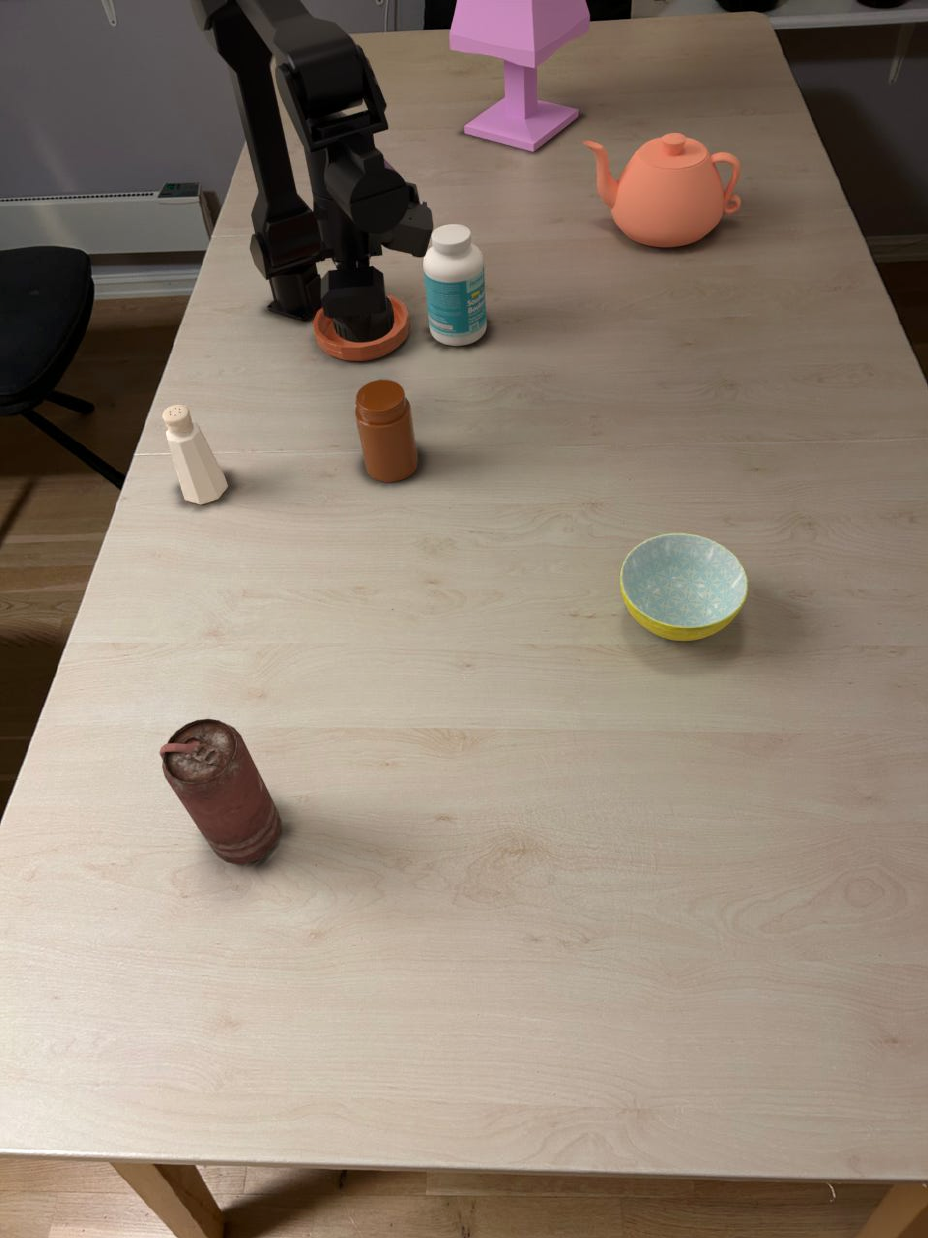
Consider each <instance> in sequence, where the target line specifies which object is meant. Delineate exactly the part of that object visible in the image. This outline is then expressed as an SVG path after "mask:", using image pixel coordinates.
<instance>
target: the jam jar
mask: <svg viewBox="0 0 928 1238" xmlns="http://www.w3.org/2000/svg"><path fill="white" fill-rule="evenodd" d="M354 416H355V419H356V426H357V430H358V431H357V432H358V436H359V440H360V445H361V450H362V456H363V460H364V461H363V462H364V465H365V470H366V472H367V474H368V475H369V476H370V477H371V478H372V479H374V480H376V481H379V482H382V483H383V482H384V483H394V482H395V483H396V482H399V481H403V480H405V479H406V478H408V477H410V476H412V474H414V472H416V470H417V468H418V465H419V457H418V449H417V444H416V443H417V442H416V437H415V429H414V422H413V414H412V408H411V403H410V400H409V399H408V398H407V397H406V393H405V389H404V387H403V386H402V385H401V384H399V382H397V381H394V380H391V379H390V380H389V379H378V380H372V381H370V382H368V383H366V384H364V385H362V386H361V387H360V388H359V389H358V391H357V392H356V395H355V408H354Z"/></svg>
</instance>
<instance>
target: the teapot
mask: <svg viewBox="0 0 928 1238" xmlns="http://www.w3.org/2000/svg"><path fill="white" fill-rule="evenodd" d="M582 143H583V144H584V145H585V146H586V147H587V148H588V149H589V150H591V152H592V153H593V155H594V157H595V162H596V187H597V192H598V195H599V197H600V199H601V200H602V202H603V203H604V204H605V205H606V206H608V207H609V208H610V213H611V217H612V219H613V221H614V223H615V224H616V226H617V227H618V228H619V229H620V230H621V232H622V233H623V234H624V235H625V236H626V237H628V238H629V239H630V240H631V241H634V242H636V243H639V244H640V245H641V244H642V245H646V246H649V247H655V248H675V247H677V248H678V247H682V246H687V245H690V244H693V243H696V242H698V241H700V240H701V239H703V238H704V237H705V236H707V235H708V234H709V233H710V232H712V231H713V230H714V229H715V228H716V226H717V225H719V223H720V221H721V220H722V217H723V214H725V215H732V214H735V213H737V212H738V211H739V209H740V208H741V204H742V200H741V197H740V196H739V195H738V194H736V193H735V194H733V192H734V190H735V188H736V187H737V184H738V182H739V179H740V175H741V163H740V160H739V159H738V158H737V156H735V155H734V154H733V153H730V152H727V151H720V152H716V153H713V154H712V155H711V153H710V152H709V150H708V148H707V147H706V146H705V144H703V143H702V142H700V141H698V140H696V139H694V138H691V137H687V136H686V135H685V134H683V133H679V132H670V133H666V134H664V135H663V136H662V137H655V138H654V139H651V140H648V141H646V142H644V143H643V144H642V145H641V146H640V147H639V148H638V149H637V150H636V151H635V152H634V154H633V156H632V157H630V159H629V161H628V163H627V164H626V165H625V166H624V168H623V170H622V171H621V173H620V175H619V177H618V180H617V179H615V178H614V177H613V176H612V175H611V173H610V158H609V154H608V151H607V149H606V148H605V146H604V145H602V144H600V143H598V142H596V141H591V140H583V141H582ZM717 163H727V164H729V165H731V167H732V173H731V177H730V179H729V182H728V184H727V186H726V188H725V190H724V185H723V181H722V177H721V175H720V172H719V169H718V167H717V165H716V164H717ZM729 202H734V203H733V204H729Z"/></svg>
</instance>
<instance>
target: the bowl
mask: <svg viewBox="0 0 928 1238" xmlns="http://www.w3.org/2000/svg"><path fill="white" fill-rule="evenodd" d="M619 572H620V573H619V582H620V584H619V585H620V586H619V587H620V591H621V595H622V600H623V602H624V604H625V606H626V608H627V610H628V612H629V613H630V614H631V616H632V617H633V618H634V620H635V621H636V622H637V623H638V624H639V625H640V626H641V627H642V628H644V629H646V630H647V631H648V632H649V633H651V634H653V635H655V636H657V637H660V638H662V639H666V640H670V641H678V642H690V641H697V640H701V639H705V638H709V637H710V636H713V635H714V634H716V633H718V632H720V631H721V630H723V629H724V628H725V627H727V626H728V625H729V624H730V623H731V622H732V621H733V620H734V618H736V616H737V615H738V614H739V612H740V611H741V609H742V608H743V606H744V604H745V602H746V599H747V596H748V591H749V581H748V576H747V572H746V569H745V568H744V566H743V564H742V562H741V561H740V559H739V558H738V557H737V556H736V555H735V553H733V552H732V551H731V550H729V549H728V548H727V547H726V546H724V545H723V544H721V543H720V542H717V541H715V540H713V539H711V538H708V537H705V536H702V535H700V534H699V535H698V534H695V533H694V534H693V533H687V532H671V533H670V532H669V533H663V534H658V535H656V536H653V537H649V538H647V539H645V540H643V541H641V542H640V543H639V544H637V545H636V546H634V547H633V548H632V549H631V550H630V552H629V553H628V554H627V555H626V556H625V558H624V560H623V562H622V564H621V567H620V571H619Z"/></svg>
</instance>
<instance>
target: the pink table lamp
mask: <svg viewBox="0 0 928 1238" xmlns="http://www.w3.org/2000/svg"><path fill="white" fill-rule="evenodd" d="M452 19H453V20H452V22H451V27H450V31H449V35H448V36H449V39H448V40H449V49H450V50H452V51H456V52H461V53H464V54H475V55H484V56H485V55H486V56H490V57H494V58H499V59H502V60H503V77H504V78H503V80H504V83H503V84H504V97H503V98H501V99H500V100H499V101H497V102H495V103H494V104H492V105H491V106H490V107H488V108H487V109H486V110H484V111H483V112H481V113H480V114H479V115H478V116H476V117H474V118H473V119H472V120H471V121H469V122H468V123H467V124H465V125H464V126H463V128H464V129H463V131H464V133H463V134H466V135H470V136H473V137H477V138H481V139H484V140H487V141H491V142H496V143H498V144H503V145H507V146H511V147H514V148H517V149H521V150H525V151H530V152H532V153H533V152H535V151H537V150H538V149H539V148H541V147H542V146H543V145H544V144H546V143H547V142H548V141H549V140H551V139H552V138H553V137H555V136H556V135H557V134H559V133H560V132H561V131H562V130H563V129H565V128H566V127H568V126H569V125H570V124H571V123H572V122H574V121H575V120H577V118H579V108H574V107H570V106H566V105H562V104H557V103H554V102H550V101H545V100H541V99H538V67H539V66H540V65H542V64H543V63H545V62H546V61H547V60H548V59H549V58H551V56H552V55H554V54H555V53H556V52H557V51H558V50H559V49H560V48H562V47H564V46H565V45H566V44H568V43H569V42H572V41H574V40H576V39H578V38H580V37H581V36H583V35H585V34H586V33H587V32H589V31H590V28H591V27H590V26H591V24H590V21H591V14H590V11H589V8H588V5H587V1H586V0H456V5H455V9H454V15H453V18H452Z"/></svg>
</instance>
